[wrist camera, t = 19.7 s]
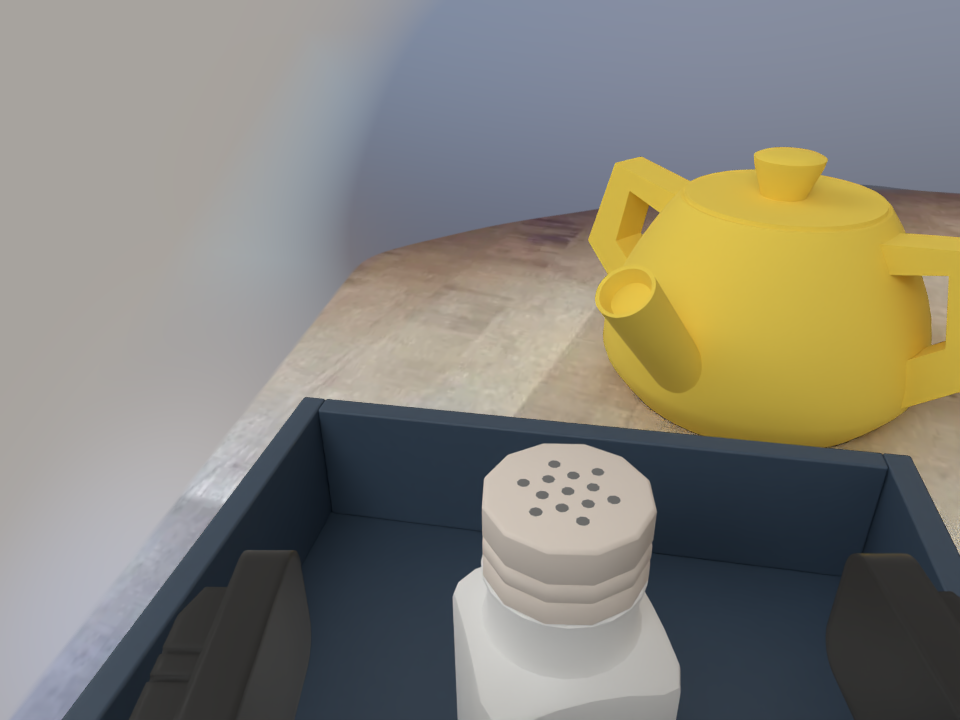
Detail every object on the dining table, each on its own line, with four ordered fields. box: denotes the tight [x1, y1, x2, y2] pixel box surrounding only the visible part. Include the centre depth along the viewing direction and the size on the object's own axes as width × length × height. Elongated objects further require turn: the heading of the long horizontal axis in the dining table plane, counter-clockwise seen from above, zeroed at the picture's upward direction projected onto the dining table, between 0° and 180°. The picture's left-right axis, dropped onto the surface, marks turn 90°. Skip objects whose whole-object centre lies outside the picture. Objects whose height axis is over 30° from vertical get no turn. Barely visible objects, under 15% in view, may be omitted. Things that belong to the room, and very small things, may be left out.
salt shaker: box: [453, 443, 681, 720], centre depth 16 cm, size 4×4×10 cm
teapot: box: [588, 147, 960, 448], centre depth 33 cm, size 20×18×11 cm
